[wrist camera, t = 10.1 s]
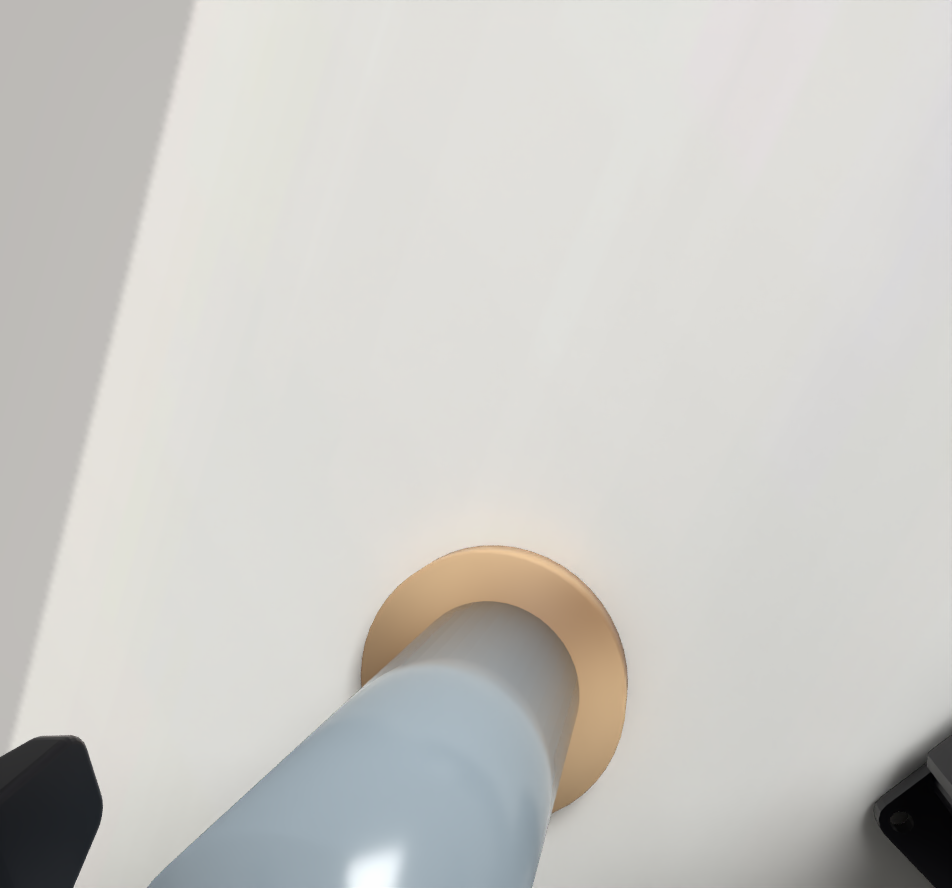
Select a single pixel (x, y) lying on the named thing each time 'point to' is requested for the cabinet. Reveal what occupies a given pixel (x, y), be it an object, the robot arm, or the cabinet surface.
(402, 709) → the grey rounded cylinder
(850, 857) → the cabinet surface
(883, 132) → the cabinet surface
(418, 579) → the tan round disc
